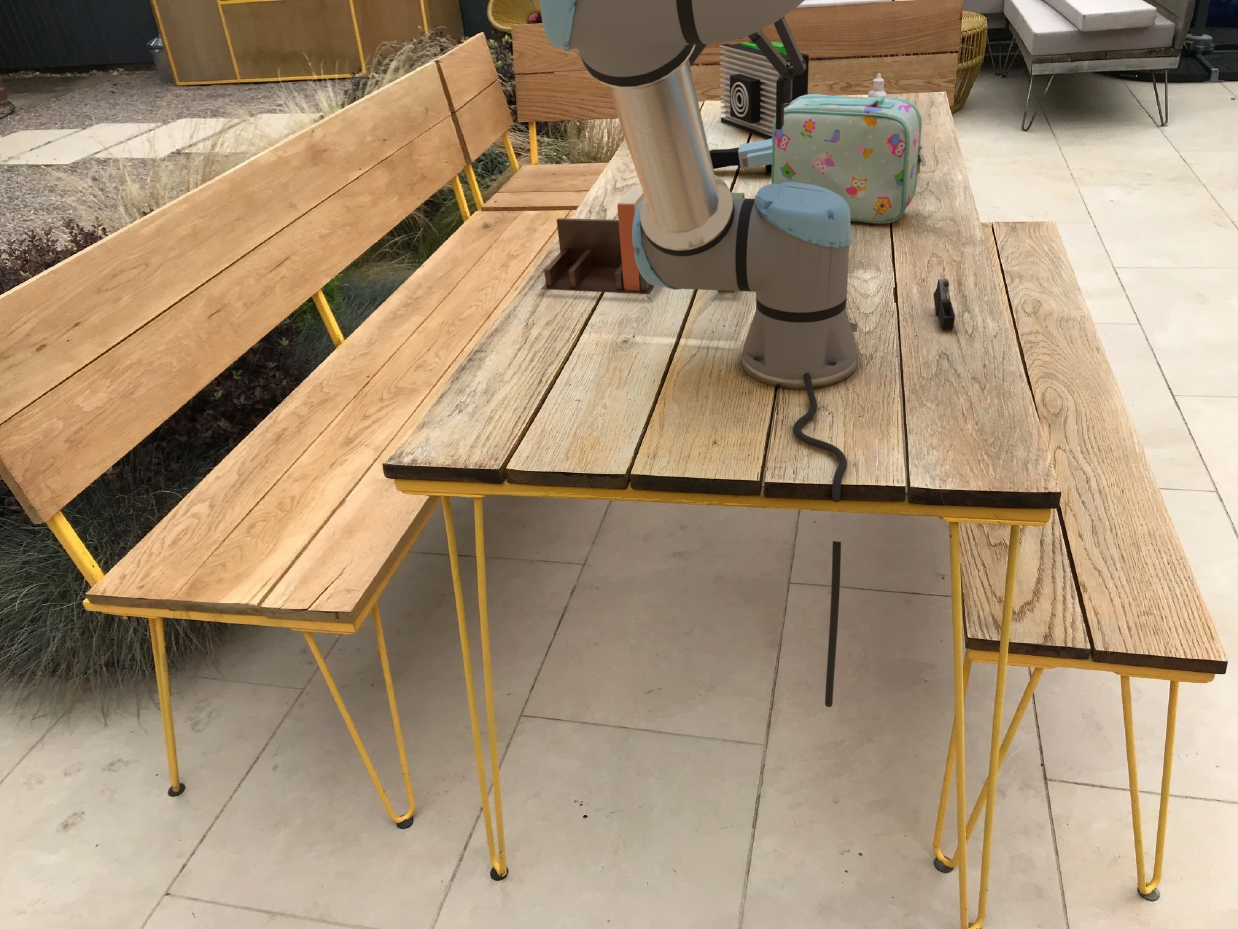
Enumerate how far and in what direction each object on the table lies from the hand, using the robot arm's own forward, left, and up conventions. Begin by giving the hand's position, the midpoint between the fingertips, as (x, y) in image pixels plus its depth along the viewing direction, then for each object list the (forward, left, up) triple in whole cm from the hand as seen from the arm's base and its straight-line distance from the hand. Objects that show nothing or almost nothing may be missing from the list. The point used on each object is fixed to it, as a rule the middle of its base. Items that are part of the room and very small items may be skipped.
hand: (732, 127), depth 137 cm
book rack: (0, +22, -25) cm, 33 cm away
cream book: (0, +16, -24) cm, 29 cm away
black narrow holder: (-7, -32, -25) cm, 41 cm away
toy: (+62, +9, -25) cm, 67 cm away
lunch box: (+37, -13, -25) cm, 47 cm away
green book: (+1, +1, -25) cm, 25 cm away
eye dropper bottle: (+98, -14, -25) cm, 102 cm away
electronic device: (+95, +13, -25) cm, 99 cm away
